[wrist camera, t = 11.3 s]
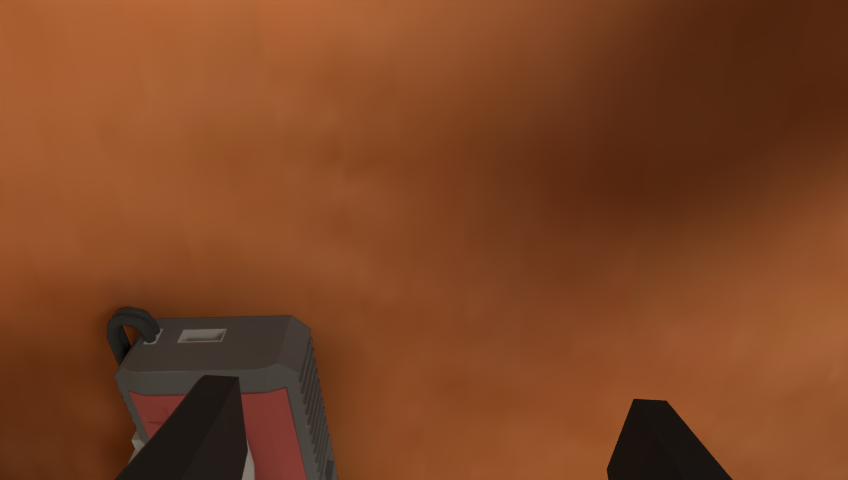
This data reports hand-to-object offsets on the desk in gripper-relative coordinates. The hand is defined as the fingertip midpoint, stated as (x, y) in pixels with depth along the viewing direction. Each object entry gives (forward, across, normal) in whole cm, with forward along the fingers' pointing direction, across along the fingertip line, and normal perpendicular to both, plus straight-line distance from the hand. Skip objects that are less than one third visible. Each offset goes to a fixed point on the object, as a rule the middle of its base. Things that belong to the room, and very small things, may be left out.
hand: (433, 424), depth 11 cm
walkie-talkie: (+10, +7, +15) cm, 19 cm away
